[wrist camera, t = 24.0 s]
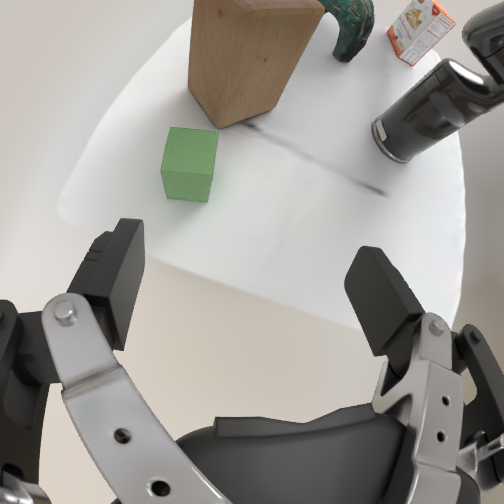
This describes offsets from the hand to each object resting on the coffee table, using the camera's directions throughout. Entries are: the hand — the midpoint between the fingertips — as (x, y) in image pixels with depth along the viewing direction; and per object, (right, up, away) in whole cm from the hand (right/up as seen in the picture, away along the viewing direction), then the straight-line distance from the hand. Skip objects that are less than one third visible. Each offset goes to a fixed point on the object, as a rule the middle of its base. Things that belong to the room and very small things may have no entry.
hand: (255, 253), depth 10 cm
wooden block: (-3, +23, +26) cm, 35 cm away
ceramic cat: (+15, +47, +34) cm, 60 cm away
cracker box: (+40, +56, +40) cm, 80 cm away
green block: (-8, +9, +23) cm, 25 cm away
